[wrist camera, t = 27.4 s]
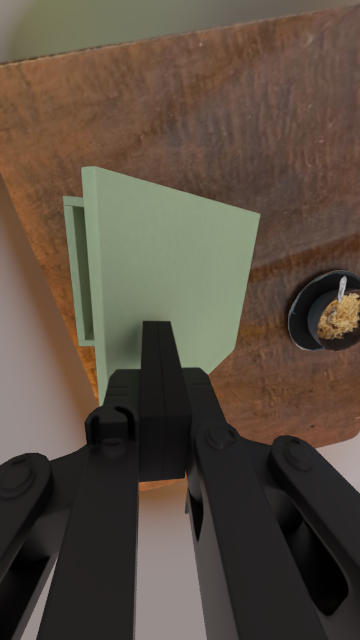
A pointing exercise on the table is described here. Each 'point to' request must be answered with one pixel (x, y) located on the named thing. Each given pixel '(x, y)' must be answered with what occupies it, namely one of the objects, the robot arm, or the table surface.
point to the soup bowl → (327, 313)
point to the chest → (79, 268)
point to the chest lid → (163, 269)
